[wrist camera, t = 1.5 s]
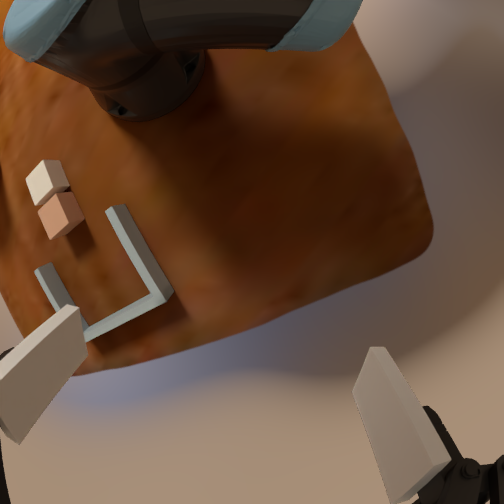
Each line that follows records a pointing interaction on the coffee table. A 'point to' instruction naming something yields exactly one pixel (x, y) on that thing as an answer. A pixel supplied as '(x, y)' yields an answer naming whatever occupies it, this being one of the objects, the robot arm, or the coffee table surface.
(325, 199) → the coffee table surface
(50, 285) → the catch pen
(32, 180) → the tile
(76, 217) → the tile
